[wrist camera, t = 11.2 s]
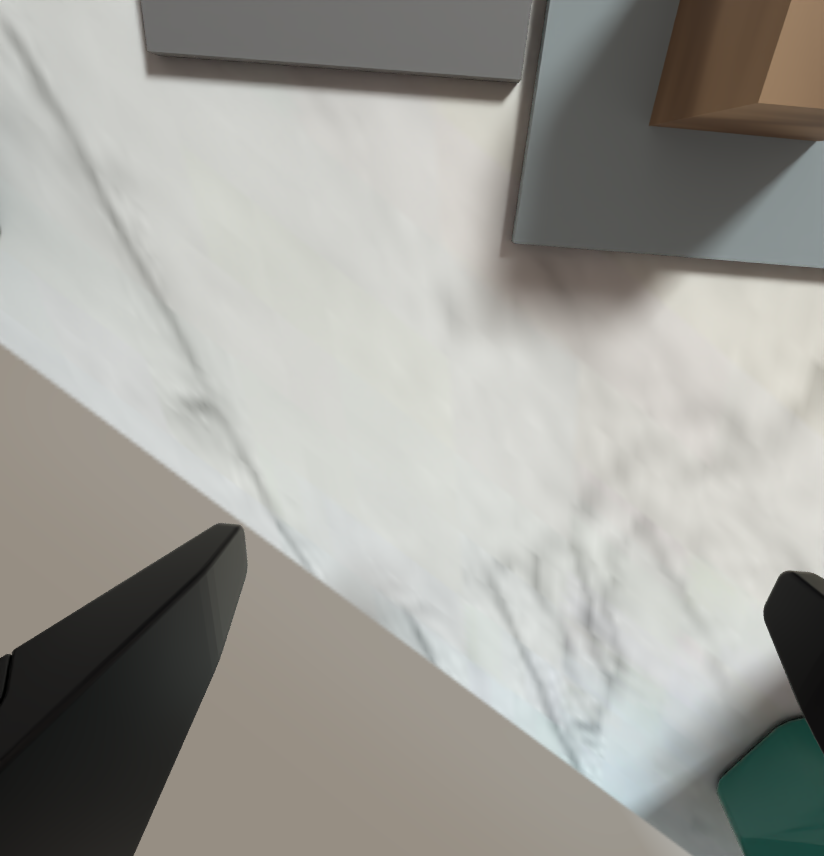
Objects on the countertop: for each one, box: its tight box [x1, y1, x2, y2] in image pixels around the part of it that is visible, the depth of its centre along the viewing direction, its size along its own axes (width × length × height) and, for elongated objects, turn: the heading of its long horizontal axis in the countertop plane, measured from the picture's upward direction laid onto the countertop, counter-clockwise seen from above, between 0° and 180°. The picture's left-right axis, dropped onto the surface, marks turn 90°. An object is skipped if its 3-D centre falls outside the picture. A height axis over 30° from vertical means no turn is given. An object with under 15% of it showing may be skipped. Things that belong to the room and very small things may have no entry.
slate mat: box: [512, 0, 824, 268], centre depth 15 cm, size 12×12×1 cm
